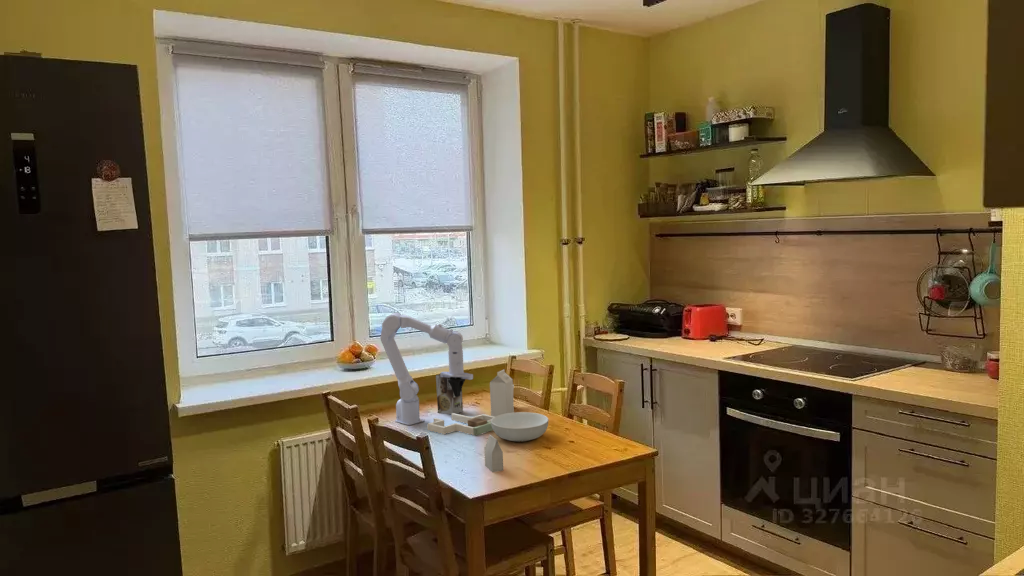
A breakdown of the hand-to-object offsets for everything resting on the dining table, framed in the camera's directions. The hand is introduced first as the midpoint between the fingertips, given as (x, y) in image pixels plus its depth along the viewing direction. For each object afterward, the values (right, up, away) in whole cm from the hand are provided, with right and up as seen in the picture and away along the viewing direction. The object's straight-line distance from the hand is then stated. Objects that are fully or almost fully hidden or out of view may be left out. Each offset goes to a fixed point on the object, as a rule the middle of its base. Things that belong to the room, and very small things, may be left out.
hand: (457, 396), depth 282 cm
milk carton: (+18, -9, +3) cm, 20 cm away
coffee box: (-4, -9, +15) cm, 18 cm away
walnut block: (+9, -11, -14) cm, 20 cm away
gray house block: (+16, -14, -58) cm, 61 cm away
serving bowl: (+25, -12, -26) cm, 37 cm away
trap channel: (+3, -11, -9) cm, 14 cm away
